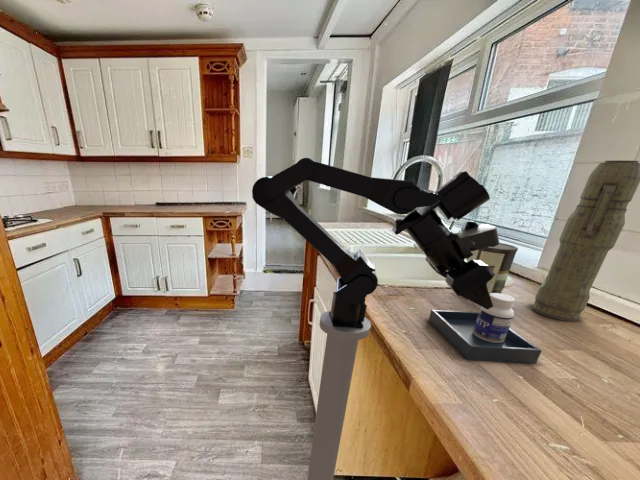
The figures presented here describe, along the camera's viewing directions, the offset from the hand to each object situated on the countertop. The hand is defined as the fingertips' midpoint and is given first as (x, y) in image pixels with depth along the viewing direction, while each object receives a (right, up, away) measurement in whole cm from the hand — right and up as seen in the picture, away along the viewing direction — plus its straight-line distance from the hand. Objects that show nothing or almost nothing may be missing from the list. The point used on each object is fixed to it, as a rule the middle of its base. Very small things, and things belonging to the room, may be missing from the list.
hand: (479, 298), depth 59 cm
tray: (+1, -9, +3) cm, 9 cm away
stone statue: (+31, -4, +17) cm, 35 cm away
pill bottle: (+3, -8, +2) cm, 9 cm away
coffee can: (+20, 0, +27) cm, 34 cm away
